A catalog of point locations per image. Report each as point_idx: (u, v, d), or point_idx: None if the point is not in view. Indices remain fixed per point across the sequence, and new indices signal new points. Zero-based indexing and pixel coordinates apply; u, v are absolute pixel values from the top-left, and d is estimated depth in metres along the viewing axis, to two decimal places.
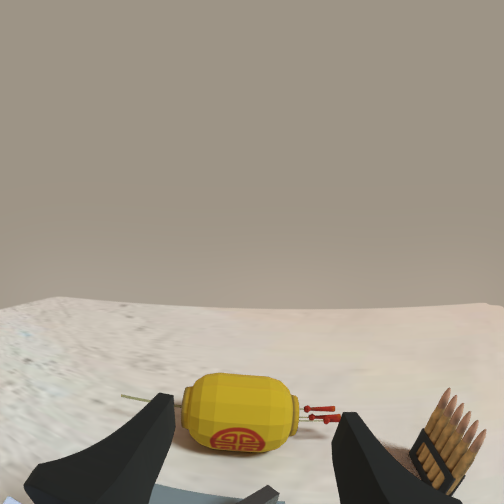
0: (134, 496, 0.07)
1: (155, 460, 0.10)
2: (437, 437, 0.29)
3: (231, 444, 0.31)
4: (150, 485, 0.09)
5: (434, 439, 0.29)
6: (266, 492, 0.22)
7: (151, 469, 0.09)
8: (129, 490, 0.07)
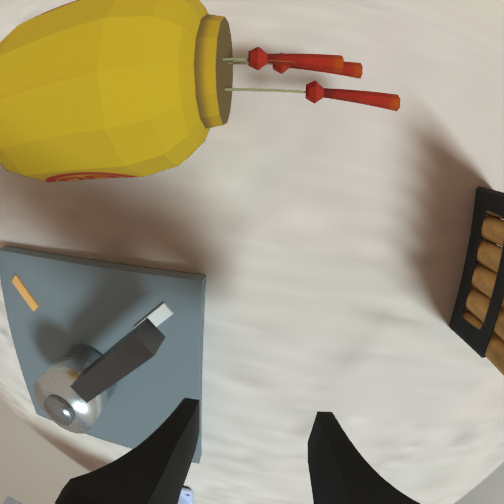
0: None
1: (183, 466, 0.10)
2: None
3: None
4: (178, 492, 0.09)
5: None
6: (133, 350, 0.15)
7: (180, 475, 0.09)
8: (163, 499, 0.07)
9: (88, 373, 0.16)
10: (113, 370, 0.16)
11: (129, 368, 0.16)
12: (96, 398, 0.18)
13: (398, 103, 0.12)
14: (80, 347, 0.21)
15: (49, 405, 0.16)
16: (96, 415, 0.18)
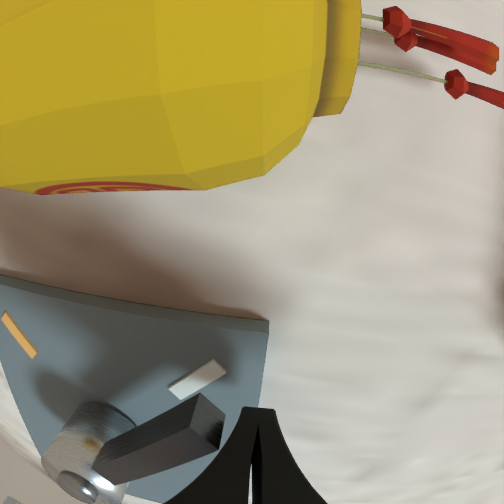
0: None
1: None
2: None
3: None
4: None
5: None
6: (187, 444, 0.10)
7: None
8: None
9: (117, 460, 0.11)
10: (155, 461, 0.10)
11: (179, 461, 0.10)
12: None
13: None
14: (96, 406, 0.15)
15: (63, 483, 0.11)
16: (125, 491, 0.13)
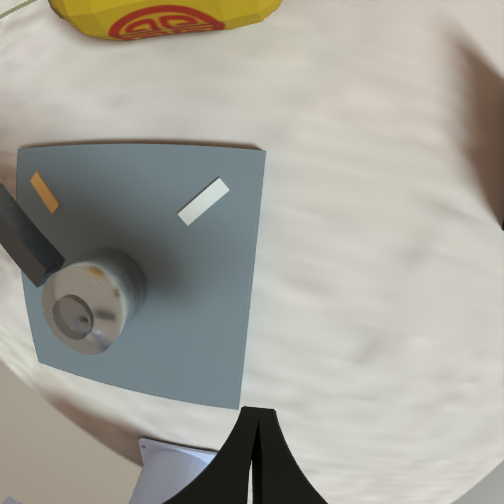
0: None
1: None
2: None
3: (156, 32, 0.13)
4: None
5: None
6: None
7: None
8: None
9: (12, 257, 0.14)
10: (0, 227, 0.14)
11: None
12: (70, 264, 0.16)
13: None
14: None
15: (66, 329, 0.15)
16: (82, 266, 0.15)
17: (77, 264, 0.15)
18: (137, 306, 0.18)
